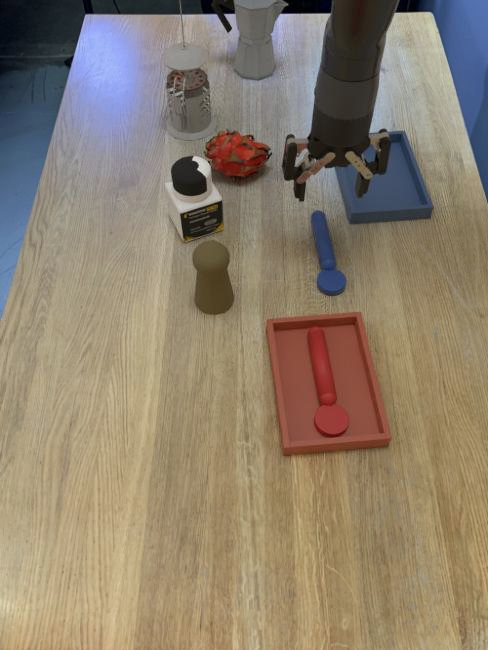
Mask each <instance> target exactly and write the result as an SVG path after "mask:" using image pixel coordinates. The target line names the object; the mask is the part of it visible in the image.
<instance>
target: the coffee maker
mask: <svg viewBox="0 0 488 650" xmlns="http://www.w3.org/2000/svg"><path fill="white" fill-rule="evenodd" d="M220 5H222V6H224V7H225V8H228V9H230V10H232V11H233V12H234V15H235V16H234V17H235V22H236V23H235V24H236V28H237V31H238V35H239V36H238V39H237V45H236V54H235V59H234V68H233V71H234V72H235V73H236V75H238V76H239V77H240V78H241V79H244V80H253V81H261V80H264V79H266V78H269V77H272V76H273V74H274V72H275V69H276V58H275V52H274V43H273V37H272V33H274V29H275V26H276V22H277V21H278V19H279V17H280V15H281V14H282V12H283V10H284V9H285V7H287V6H289V3H288V2H286V1H284V0H212V2H211V8H212V9H213V11H214V13H215V14H216V16H217V18H218V20H219V21H220V23H221V25H222V26H223V28H224V30H225V31H226V33H227V34H229V33H231V32H232V30H233V26H232V25H231V23H230V22H229V20H228V18H227V17H226V15H225V13H224V12H223V9H222V8H221V6H220Z"/></svg>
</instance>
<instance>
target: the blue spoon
mask: <svg viewBox="0 0 488 650" xmlns="http://www.w3.org/2000/svg"><path fill="white" fill-rule="evenodd" d="M310 222H311V227H312V230H313V235H314V240H315V244H316V249H317V255H318V259H319V265H320V268H321V269H322V270H321V271H320V272H319V273H318V275H317V277H316V287H317V289H318V290H319V291H320V292H321V293H322V294H324V295H327V296H337V295H338V296H339V295H340V294H342V293H343V292H344V290H345V289H346V286H347V277H346V275H345V273H344V272H342V271H341V270H339V269H336V268H337V260H336V256H335V251H334V247H333V242H332V239H331V234H330V229H329V226H328V221H327V217H326V214H325V212H324V211H323V210H321V209H316V210H314V211H313V212H312V213H311V215H310Z"/></svg>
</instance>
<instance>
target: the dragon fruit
mask: <svg viewBox="0 0 488 650" xmlns="http://www.w3.org/2000/svg"><path fill="white" fill-rule="evenodd" d="M225 131H226V132H225ZM225 131H224V130H219V131H218V132H217V135H214V136H212V137H211V138H210V139H209V140H208V141H207V142H205V150H203V151H202V154H204V155H203V156H204V157H205V158H207V159H208V160H207V162H208V163H209V164H210V167H211V171H213V172H214V171H218V170H219V171H220V172H221V173H223V174H224V175H225V176H226V177H227V178H228V179H229V181H230V182H233V181H234V179H235V177H234V176H236V177H242V178H251V177H253V176H254V175H257V174H258V173H259V170H260V169H261V168H262V166H263V165H264V164H266V163H267V162H268V161H269V160H270V158H271V156H272V155H273V152H272V151H271V150H272V149H271V147H270V146H269V145H268V144H266V143H264V142H259V141H256V138H255V136H254V135H253V134H251V133H249V134H246V135H241V134H240V131H239V130H236V129H234V130H233V131H232V132H231V131H230V130H229V128H227V127H226V130H225ZM270 151H271V152H270ZM210 160H211V161H210Z"/></svg>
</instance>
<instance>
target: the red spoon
mask: <svg viewBox="0 0 488 650" xmlns="http://www.w3.org/2000/svg"><path fill="white" fill-rule="evenodd" d="M308 341H309V347H310V352H311V358H312V363H313V369H314V374H315V380H316V386H317V391H318V397H319V401H320V403H321V404H322V406H320V407H319V408H318V409H317V411H316V413H315V418H314V425H315V427H316V429H317V431H318V432H319V433H320V434H322V435H323V436H325V437H329V438H334V437H339V436H341V435H342V434H343V433H344V432H345V431H346V429H347V427H348V423H349V417H348V414H347V412H346V411H345V409H344V408H343V407H341V406H340V405H337V404H335V403H336V401H337V394H336V389H335V384H334V379H333V374H332V369H331V364H330V359H329V354H328V349H327V344H326V339H325V334H324V331H323V329H322V328H320V327H318V326H314V327H312V328H310V329H309V331H308Z"/></svg>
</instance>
